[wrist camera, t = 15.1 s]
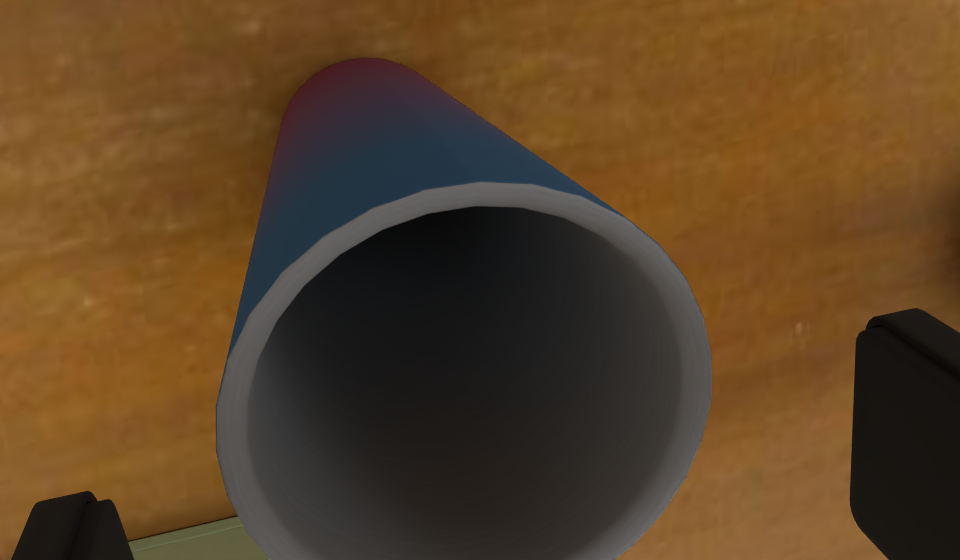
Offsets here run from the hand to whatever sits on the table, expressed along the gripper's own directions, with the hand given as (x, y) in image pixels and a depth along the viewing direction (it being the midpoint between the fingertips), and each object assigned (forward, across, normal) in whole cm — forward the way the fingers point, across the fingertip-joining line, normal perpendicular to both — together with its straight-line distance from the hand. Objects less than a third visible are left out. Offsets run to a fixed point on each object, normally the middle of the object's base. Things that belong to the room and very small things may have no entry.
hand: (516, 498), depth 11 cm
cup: (+16, 0, 0) cm, 17 cm away
